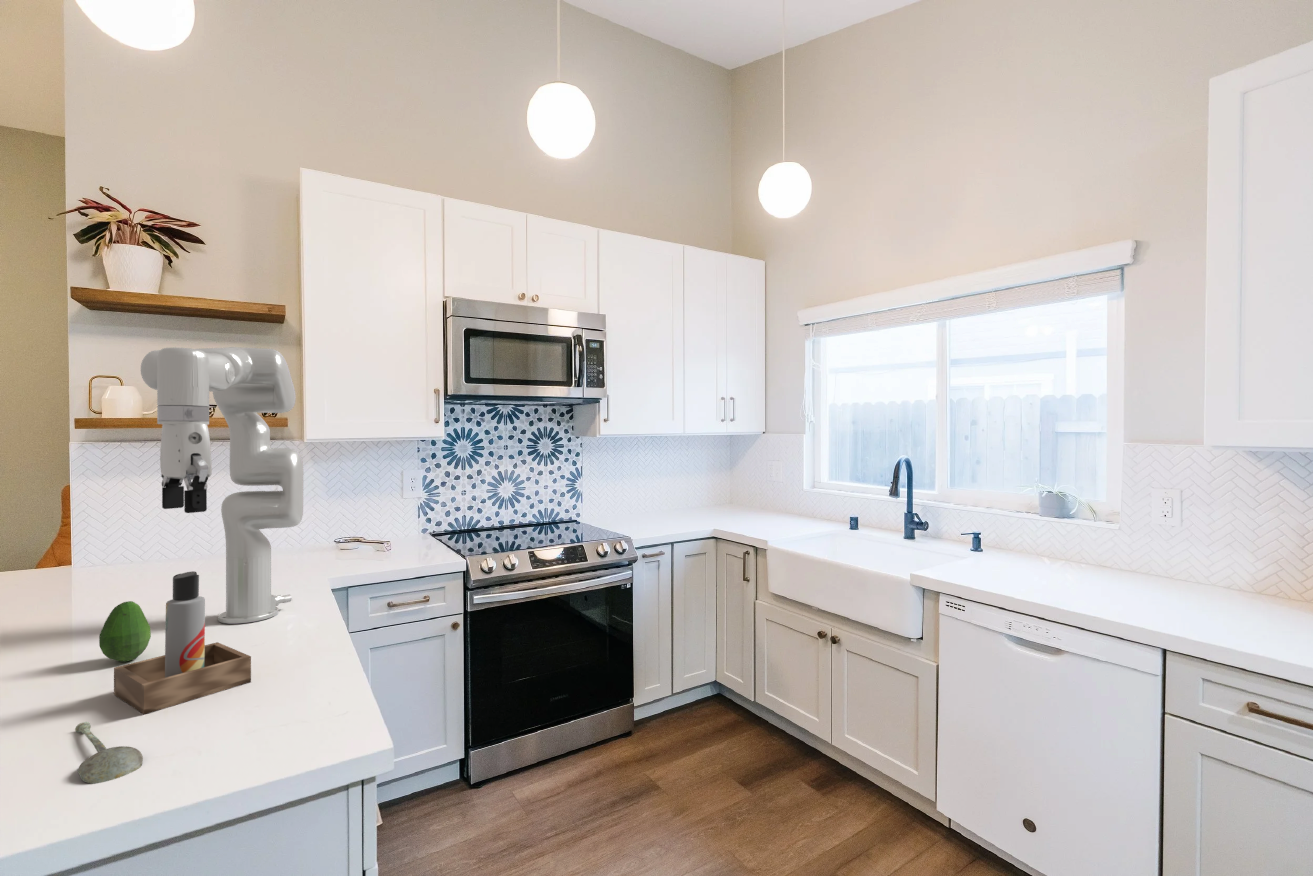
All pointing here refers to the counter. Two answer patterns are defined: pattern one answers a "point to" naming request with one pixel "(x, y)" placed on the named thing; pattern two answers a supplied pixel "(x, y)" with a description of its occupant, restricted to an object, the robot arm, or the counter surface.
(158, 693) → the walnut tray
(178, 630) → the lotion bottle
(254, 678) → the counter surface
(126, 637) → the avocado
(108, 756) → the soupspoon
